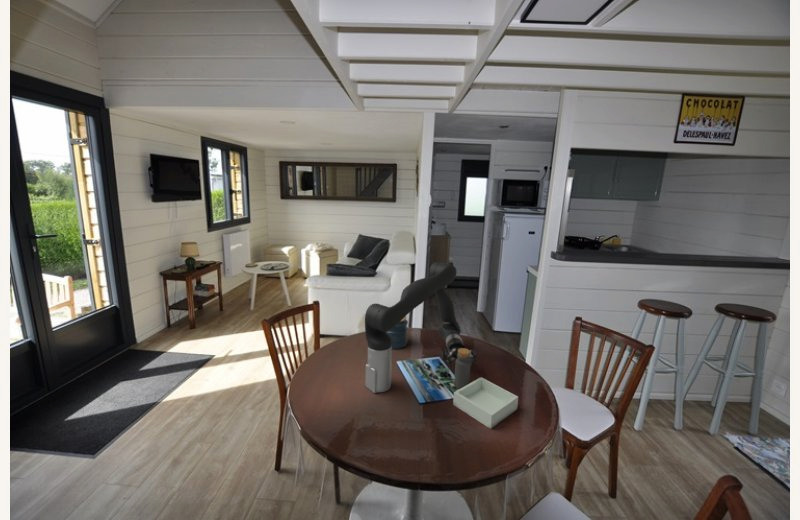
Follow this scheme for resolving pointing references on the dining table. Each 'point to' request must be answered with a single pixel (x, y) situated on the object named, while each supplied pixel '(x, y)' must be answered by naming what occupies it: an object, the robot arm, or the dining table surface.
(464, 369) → the bottle
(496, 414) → the bin
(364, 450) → the dining table surface
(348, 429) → the dining table surface
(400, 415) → the dining table surface
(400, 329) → the canister
